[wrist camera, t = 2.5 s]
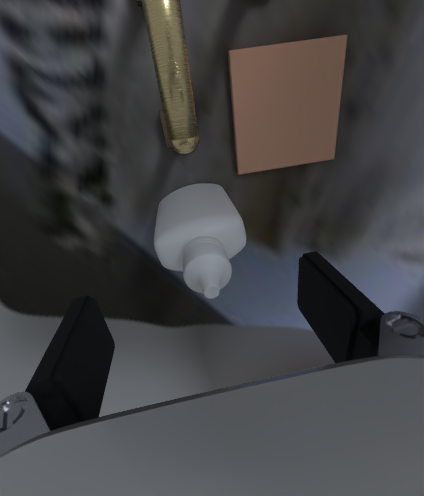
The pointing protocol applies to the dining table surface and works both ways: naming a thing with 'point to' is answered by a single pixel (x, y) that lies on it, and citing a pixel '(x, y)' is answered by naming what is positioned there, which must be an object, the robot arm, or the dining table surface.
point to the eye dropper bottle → (199, 236)
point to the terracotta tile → (286, 102)
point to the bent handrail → (172, 73)
